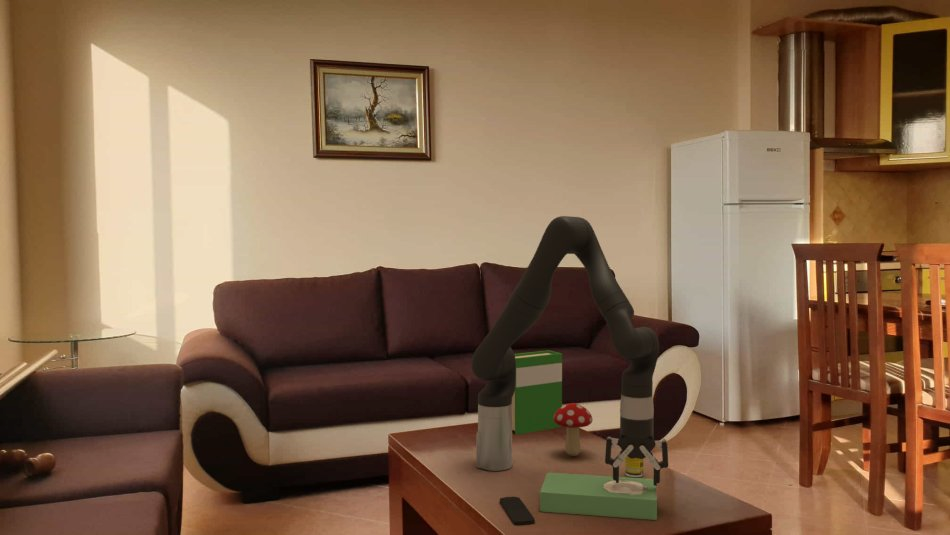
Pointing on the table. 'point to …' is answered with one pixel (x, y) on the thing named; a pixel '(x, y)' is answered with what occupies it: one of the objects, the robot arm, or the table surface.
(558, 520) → the table surface
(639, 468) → the supplement bottle
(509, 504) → the remote control
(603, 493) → the green flat block
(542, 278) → the robot arm
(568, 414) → the decorative mushroom
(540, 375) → the hardback book
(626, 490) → the ball
